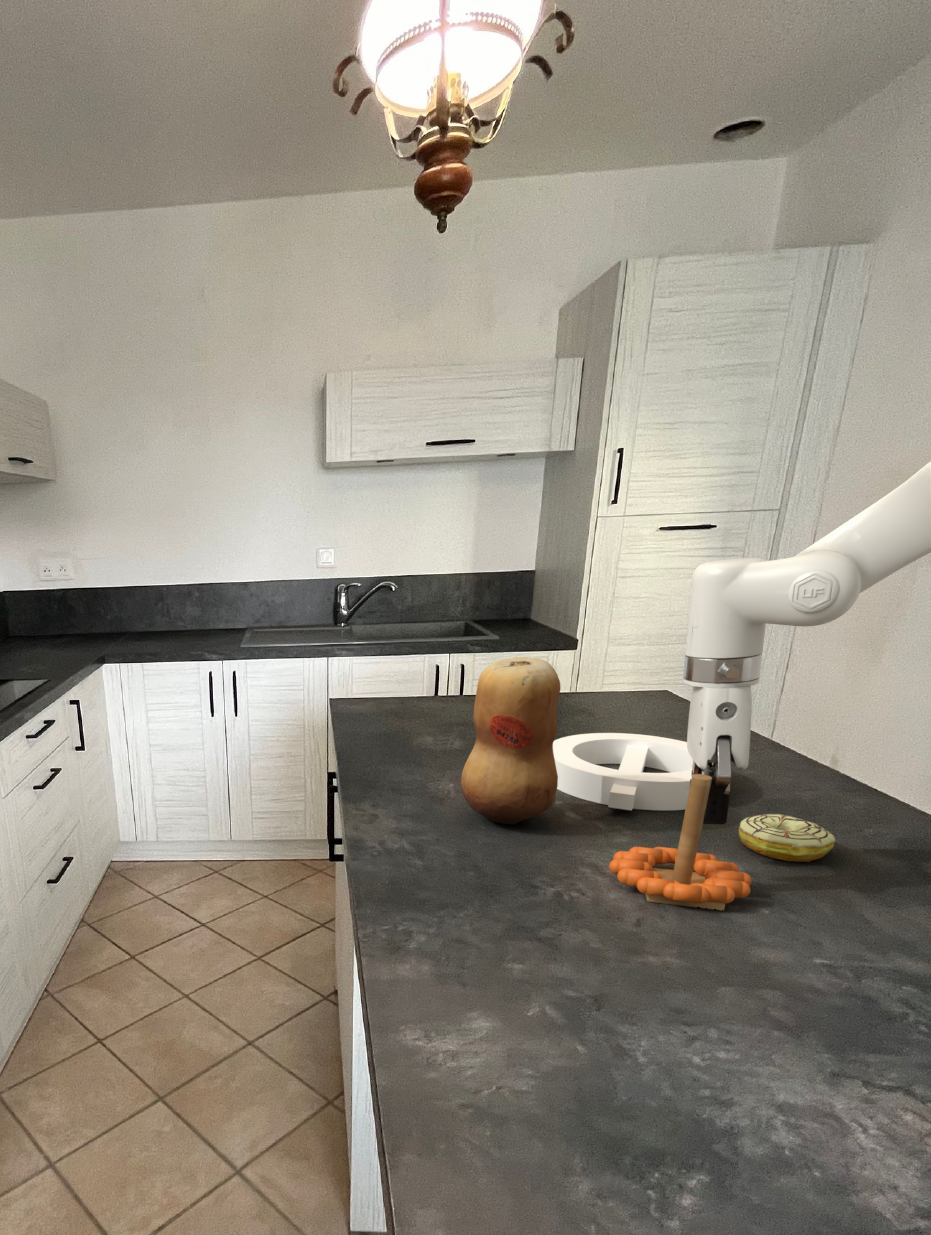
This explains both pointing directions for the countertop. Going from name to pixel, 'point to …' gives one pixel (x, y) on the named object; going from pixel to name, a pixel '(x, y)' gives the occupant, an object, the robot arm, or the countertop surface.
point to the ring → (717, 887)
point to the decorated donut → (785, 837)
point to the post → (689, 845)
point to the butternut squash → (513, 741)
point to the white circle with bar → (624, 770)
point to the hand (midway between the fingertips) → (706, 814)
